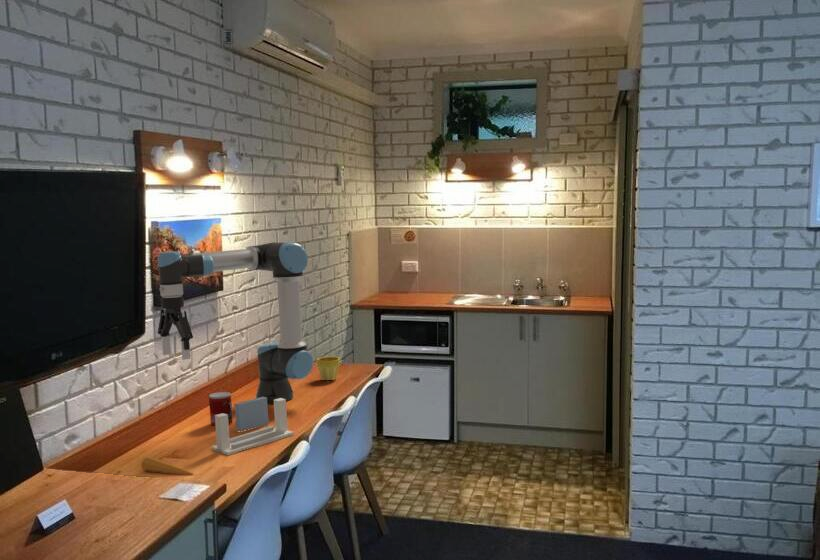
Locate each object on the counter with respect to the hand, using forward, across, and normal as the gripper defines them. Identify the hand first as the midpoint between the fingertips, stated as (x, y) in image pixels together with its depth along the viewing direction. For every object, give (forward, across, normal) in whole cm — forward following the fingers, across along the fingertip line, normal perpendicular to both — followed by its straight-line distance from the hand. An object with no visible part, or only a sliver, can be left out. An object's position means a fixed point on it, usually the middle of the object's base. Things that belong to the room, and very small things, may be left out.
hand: (176, 356), depth 251 cm
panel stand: (+28, +28, +11) cm, 41 cm away
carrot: (+28, +32, -21) cm, 48 cm away
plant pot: (+28, -20, +84) cm, 91 cm away
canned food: (+28, 0, +16) cm, 32 cm away
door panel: (+28, +14, +20) cm, 37 cm away
